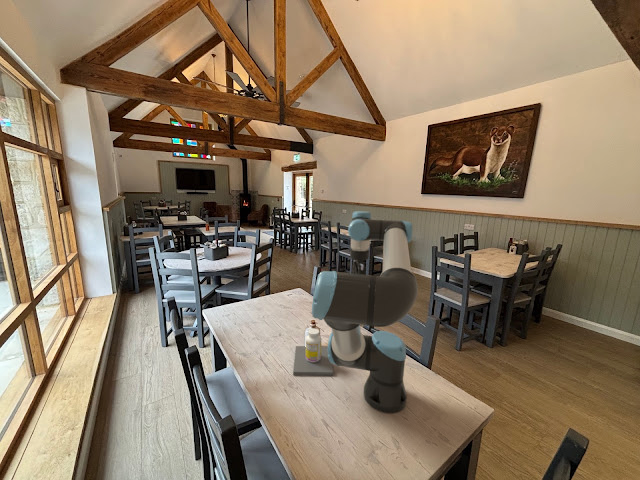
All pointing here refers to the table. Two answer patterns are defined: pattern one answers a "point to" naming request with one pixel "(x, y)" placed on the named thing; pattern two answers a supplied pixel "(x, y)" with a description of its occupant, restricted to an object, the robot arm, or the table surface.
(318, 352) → the supplement bottle
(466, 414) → the table surface
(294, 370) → the slate board
